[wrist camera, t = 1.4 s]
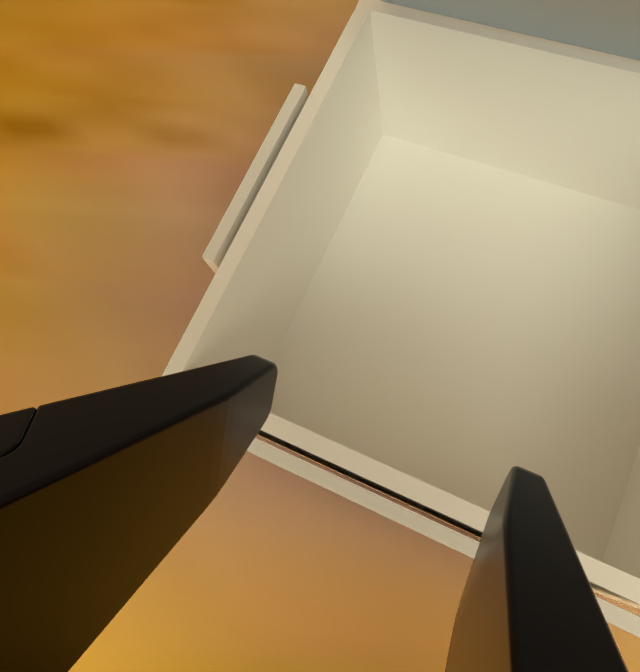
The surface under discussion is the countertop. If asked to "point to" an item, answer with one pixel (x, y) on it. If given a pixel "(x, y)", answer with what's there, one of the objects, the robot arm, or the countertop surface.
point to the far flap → (552, 20)
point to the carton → (447, 281)
